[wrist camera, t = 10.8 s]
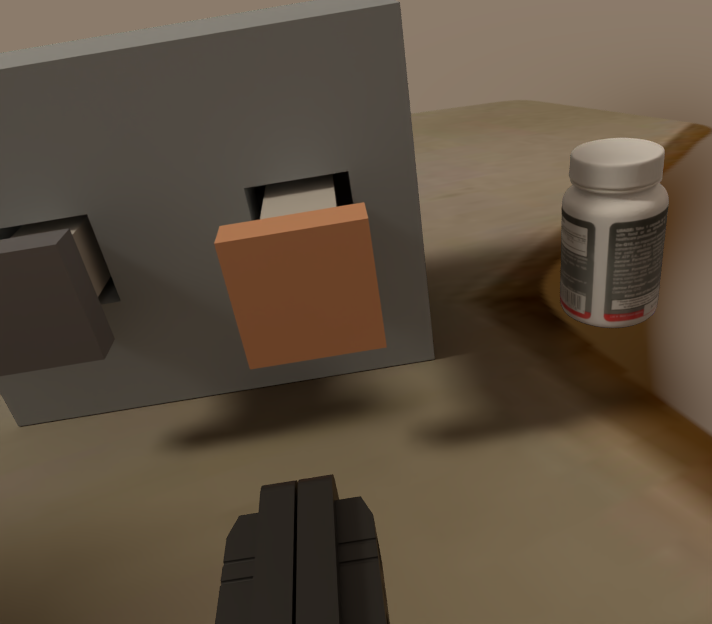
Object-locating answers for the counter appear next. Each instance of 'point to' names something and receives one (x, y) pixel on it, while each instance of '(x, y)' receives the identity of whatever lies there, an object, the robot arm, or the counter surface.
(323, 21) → the box
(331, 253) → the rust plunger
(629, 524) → the counter surface
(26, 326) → the graphite plunger
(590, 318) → the pill bottle
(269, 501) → the robot arm
